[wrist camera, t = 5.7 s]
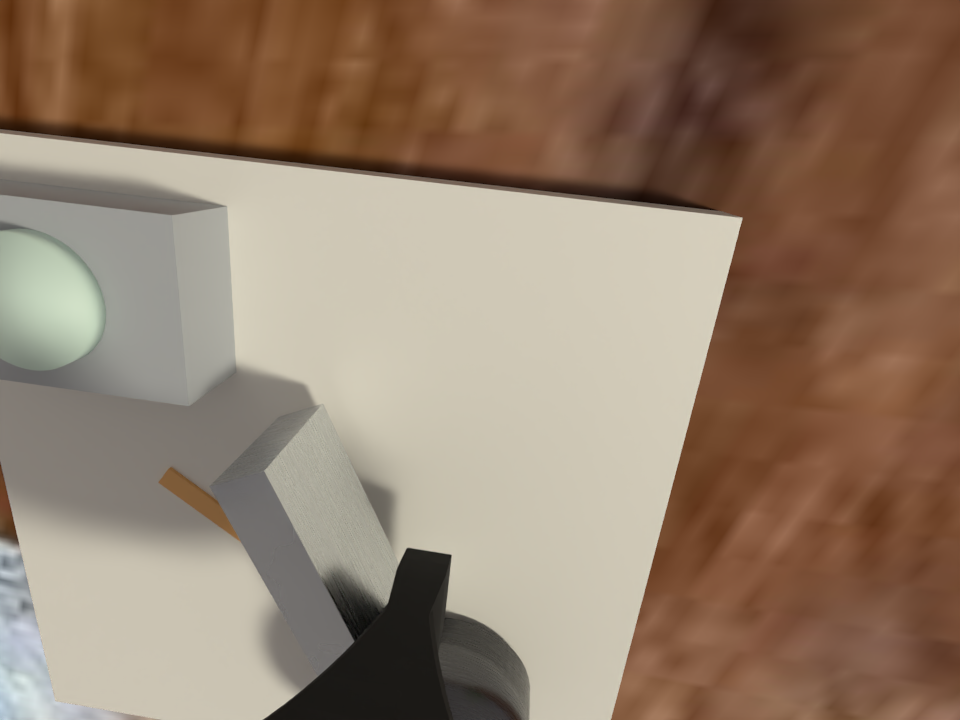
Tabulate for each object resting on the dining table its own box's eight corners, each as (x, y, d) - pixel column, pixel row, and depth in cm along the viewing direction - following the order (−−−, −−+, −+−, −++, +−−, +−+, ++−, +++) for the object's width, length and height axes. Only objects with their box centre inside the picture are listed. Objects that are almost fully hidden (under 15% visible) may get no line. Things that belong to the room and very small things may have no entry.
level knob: (551, 730, 17) (554, 871, 13) (399, 753, 18) (367, 889, 14) (401, 373, 13) (355, 445, 10) (222, 427, 14) (127, 509, 11)
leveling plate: (586, 748, 19) (598, 892, 15) (89, 663, 20) (-14, 778, 16) (720, 211, 13) (794, 234, 9) (-15, 127, 14) (-221, 116, 10)
